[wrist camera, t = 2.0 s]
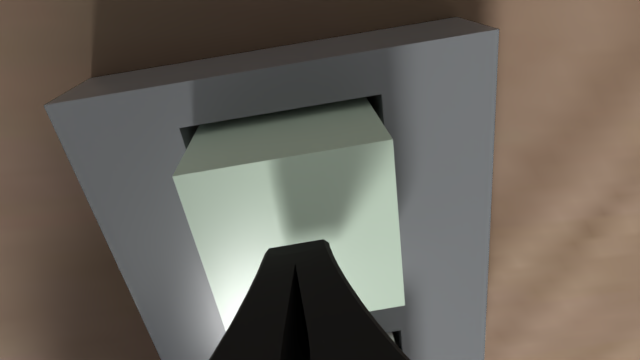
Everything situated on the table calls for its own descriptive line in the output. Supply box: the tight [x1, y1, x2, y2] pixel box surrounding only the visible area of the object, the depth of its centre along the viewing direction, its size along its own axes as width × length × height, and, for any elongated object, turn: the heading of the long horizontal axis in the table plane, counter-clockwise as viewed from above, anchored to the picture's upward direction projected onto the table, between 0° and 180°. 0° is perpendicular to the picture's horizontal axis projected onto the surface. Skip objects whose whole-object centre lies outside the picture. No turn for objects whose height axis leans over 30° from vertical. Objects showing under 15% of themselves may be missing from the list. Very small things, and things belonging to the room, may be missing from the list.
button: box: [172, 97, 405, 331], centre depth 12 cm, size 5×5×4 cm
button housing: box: [44, 17, 499, 360], centre depth 16 cm, size 17×12×3 cm
